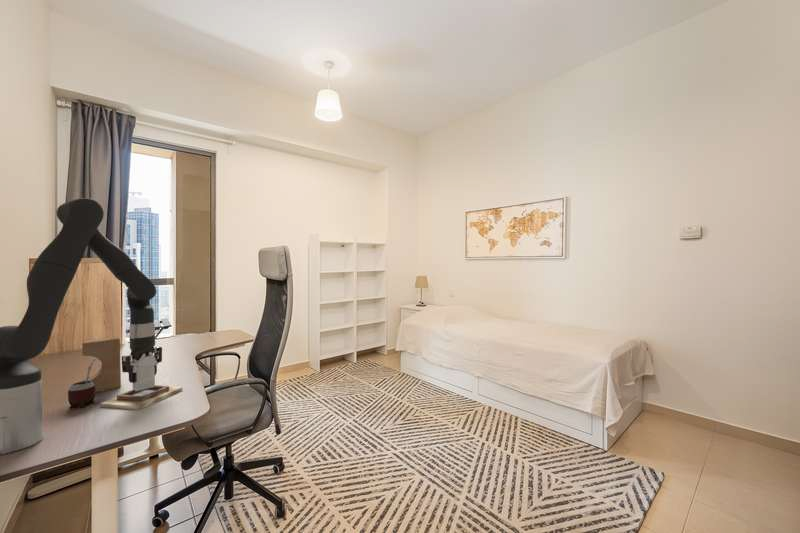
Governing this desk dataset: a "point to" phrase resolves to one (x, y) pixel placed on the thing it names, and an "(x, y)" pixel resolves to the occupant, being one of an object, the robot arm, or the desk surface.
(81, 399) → the mate gourd
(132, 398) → the tan wooden flat frame
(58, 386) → the desk surface
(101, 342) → the decorative block
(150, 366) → the skincare box
